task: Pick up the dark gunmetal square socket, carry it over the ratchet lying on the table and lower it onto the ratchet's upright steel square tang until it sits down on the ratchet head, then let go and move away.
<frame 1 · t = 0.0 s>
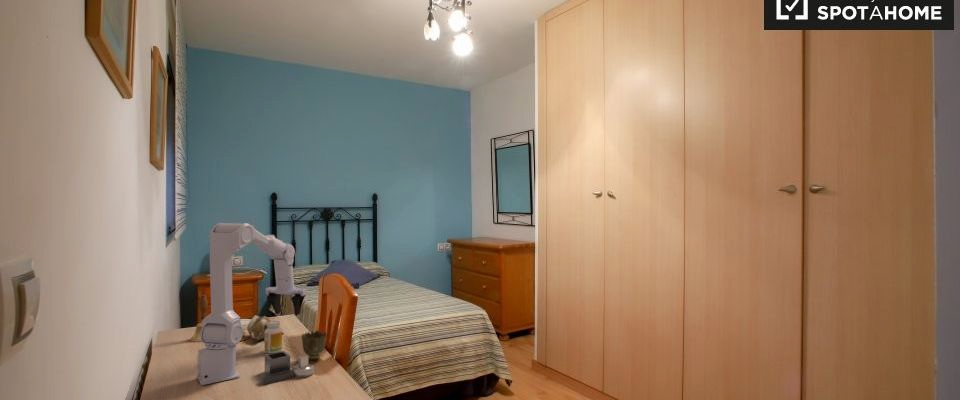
hand: (288, 313, 162), 11 cm above the table, fingers open, 7 cm apart
ratchet: (303, 374, 134), on the table
hand bell: (203, 339, 167), on the table
supplement bottle: (273, 351, 154), on the table
cup: (313, 359, 147), on the table
ceramic sculpture: (262, 338, 169), on the table
socket: (277, 372, 135), on the table
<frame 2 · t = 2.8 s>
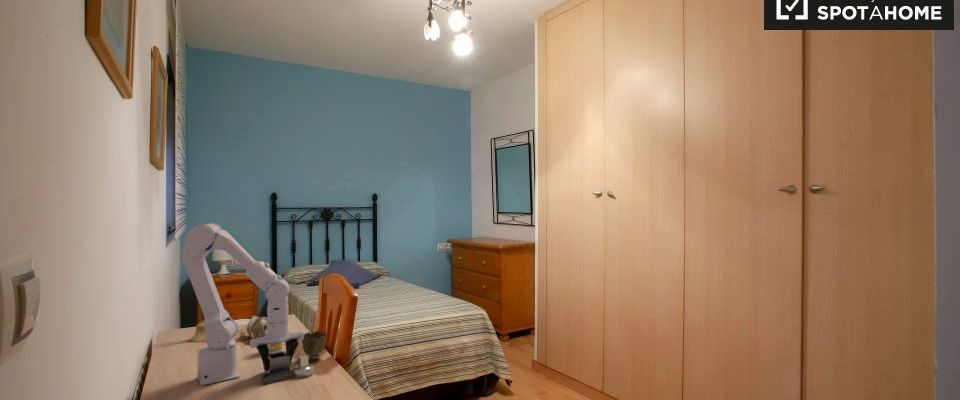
hand: (277, 367, 135), 1 cm above the table, fingers closed on socket, 6 cm apart
socket: (277, 372, 135), on the table, touching gripper
everything else where it was.
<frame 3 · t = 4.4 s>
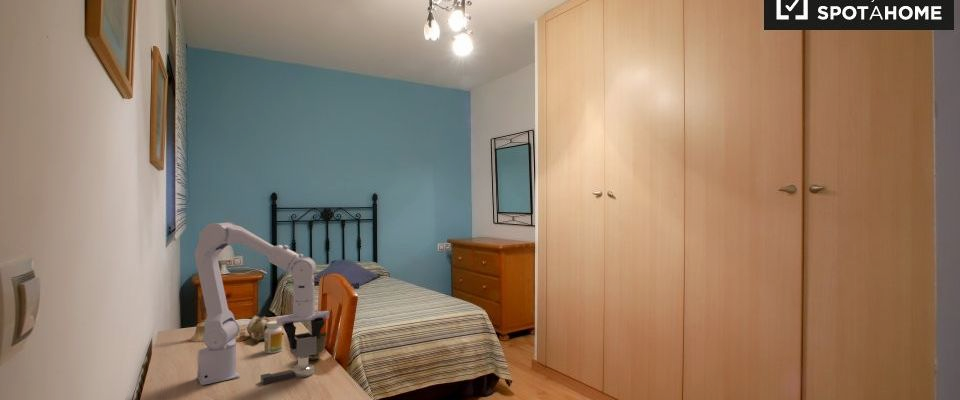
hand: (303, 346, 134), 8 cm above the table, fingers closed on socket, 6 cm apart
socket: (303, 353, 134), point 6 cm above the table, touching gripper
everything else where it was.
when the fingers open (4 cm above the table, at t = 6.0 s): socket stays where it is, resting on ratchet.
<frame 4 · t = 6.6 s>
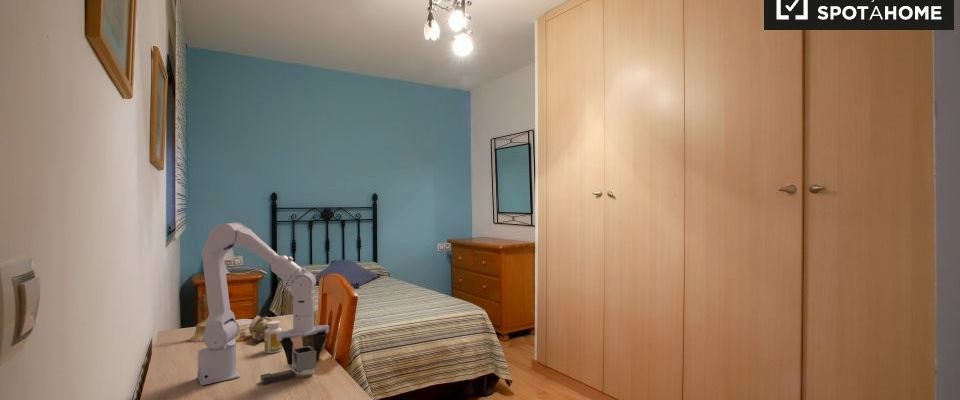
hand: (303, 360, 134), 4 cm above the table, fingers open, 7 cm apart
socket: (303, 367, 134), point 2 cm above the table, touching ratchet
everything else where it was.
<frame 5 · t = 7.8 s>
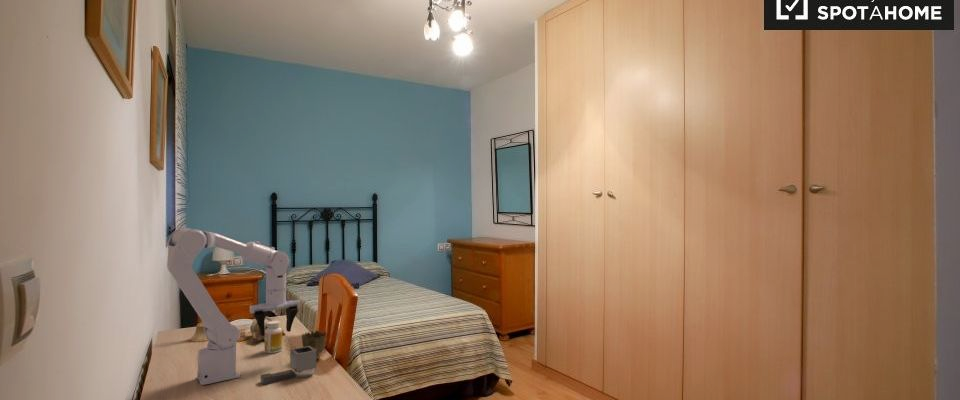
hand: (275, 333, 143), 9 cm above the table, fingers open, 7 cm apart
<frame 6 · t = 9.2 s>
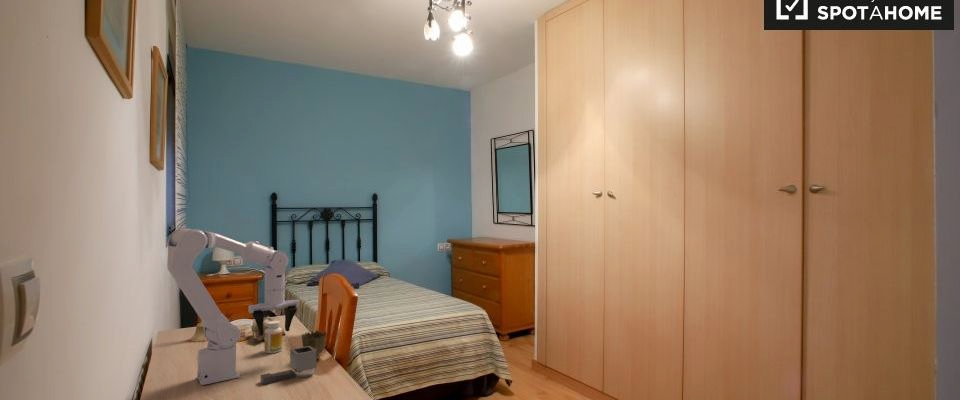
hand: (274, 332, 143), 9 cm above the table, fingers open, 7 cm apart
at the end: socket 0.0 cm off-centre on the ratchet, point 2.0 cm above the ratchet's base; socket tilted 0°; the gripper is holding nothing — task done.
